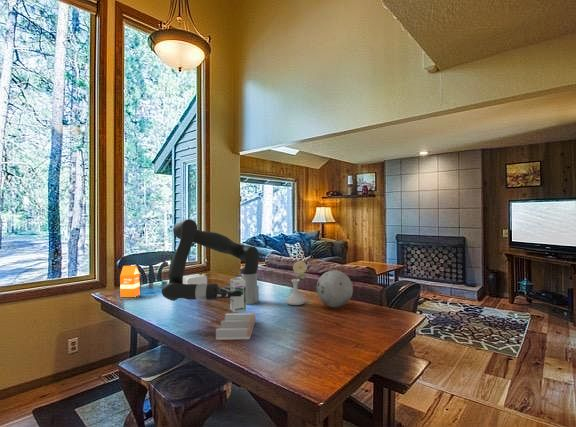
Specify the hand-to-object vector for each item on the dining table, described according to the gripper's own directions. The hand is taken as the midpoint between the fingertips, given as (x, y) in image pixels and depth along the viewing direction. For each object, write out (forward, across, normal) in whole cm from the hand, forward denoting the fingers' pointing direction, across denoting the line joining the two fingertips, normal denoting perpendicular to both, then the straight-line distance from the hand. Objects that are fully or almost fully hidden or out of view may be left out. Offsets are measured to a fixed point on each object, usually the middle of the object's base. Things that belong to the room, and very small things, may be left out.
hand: (242, 291), depth 148 cm
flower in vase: (+27, +35, +16) cm, 46 cm away
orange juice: (-81, +58, +17) cm, 101 cm away
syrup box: (-2, 0, +9) cm, 9 cm away
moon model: (+47, +28, +16) cm, 57 cm away
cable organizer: (-42, +65, +17) cm, 79 cm away
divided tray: (-2, -5, +16) cm, 17 cm away
